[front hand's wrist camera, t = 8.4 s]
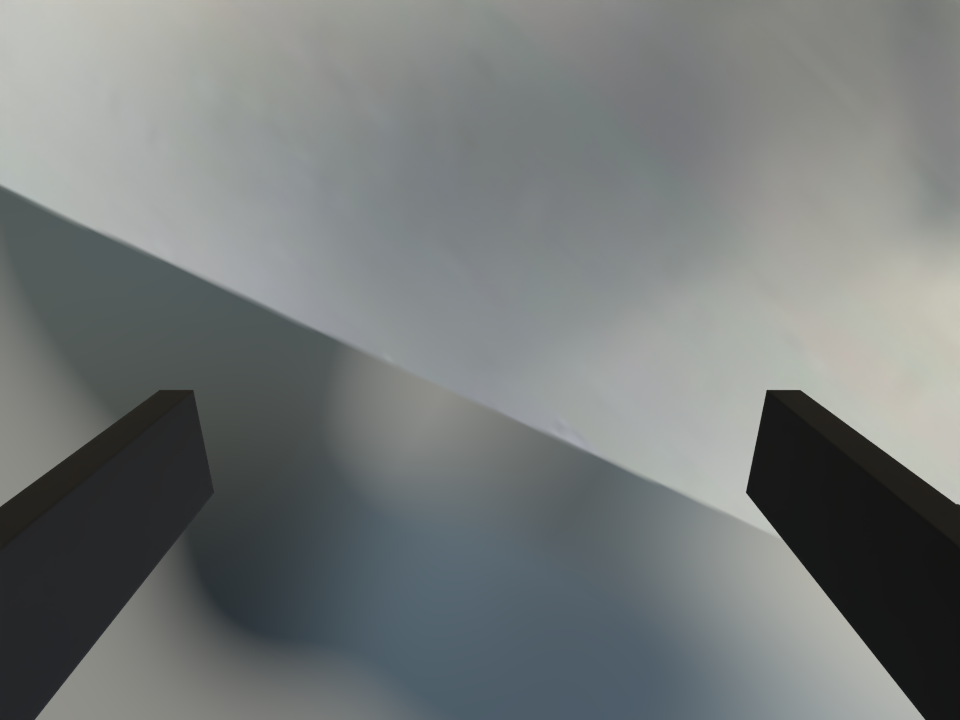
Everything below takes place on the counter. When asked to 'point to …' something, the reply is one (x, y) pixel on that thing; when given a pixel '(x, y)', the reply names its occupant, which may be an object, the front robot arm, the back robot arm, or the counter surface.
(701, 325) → the counter surface
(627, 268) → the counter surface
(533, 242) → the counter surface
